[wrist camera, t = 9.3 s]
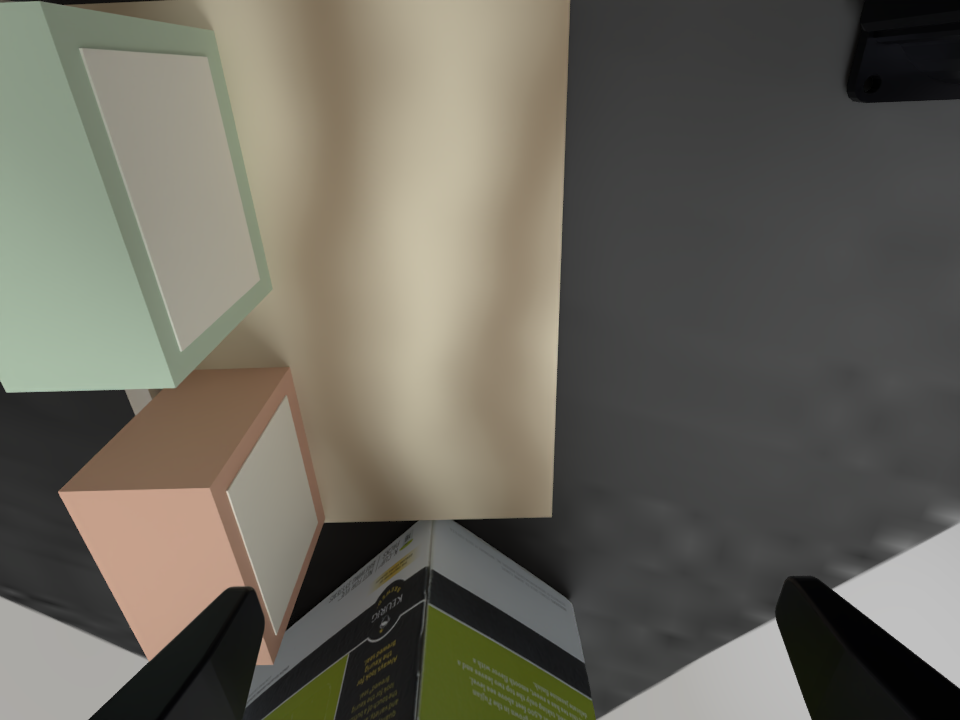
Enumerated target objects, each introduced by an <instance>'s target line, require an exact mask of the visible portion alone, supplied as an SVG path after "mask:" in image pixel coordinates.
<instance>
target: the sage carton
mask: <svg viewBox="0 0 960 720" xmlns="http://www.w3.org/2000/svg"><path fill="white" fill-rule="evenodd" d="M272 290H273V288H272V283H271V279H270V275H269V270H268V266H267V261H266V257H265V253H264V248H263V244H262V240H261V235H260V231H259V226H258V222H257V218H256V213H255V209H254V204H253V200H252V196H251V191H250V187H249V183H248V178H247V174H246V169H245V165H244V161H243V156H242V152H241V147H240V143H239V139H238V134H237V130H236V125H235V121H234V117H233V112H232V108H231V104H230V99H229V95H228V90H227V86H226V82H225V77H224V73H223V68H222V64H221V60H220V55H219V51H218V47H217V42H216V38H215V33H214V31H213V30H207V29H201V28H195V27H189V26H183V25H177V24H171V23H165V22H159V21H154V20H148V19H142V18H136V17H130V16H124V15H118V14H112V13H106V12H101V11H95V10H89V9H83V8H77V7H71V6H65V5H59V4H53V3H48V2H42V1H30V2H5V3H0V381H1V383H2V385H3V387H4V389H5V391H6V392H44V391H84V390H123V389H162V388H176V387H177V386H178V385H179V384H180V383H181V382H182V381H183V380H184V379H185V378H186V377H187V376H188V375H189V374H190V373H191V372H192V371H193V370H194V369H195V368H196V367H197V366H198V365H199V364H200V363H201V362H202V361H203V360H204V359H205V358H206V357H207V356H208V355H209V354H210V353H211V352H212V351H213V350H214V349H215V348H216V347H217V346H218V345H219V344H220V342H221V341H222V340H223V339H224V338H225V337H226V336H227V335H228V334H229V333H230V332H231V331H232V330H233V329H234V328H235V327H236V326H237V325H238V324H239V323H240V322H241V321H242V320H243V319H244V318H245V317H246V316H247V315H248V314H249V313H250V312H251V311H252V310H253V309H254V308H255V307H256V306H257V305H258V304H259V303H260V302H261V301H262V300H263V299H264V298H265V297H266V296H267V295H268V294H269V293H270V292H271V291H272Z"/></svg>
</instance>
